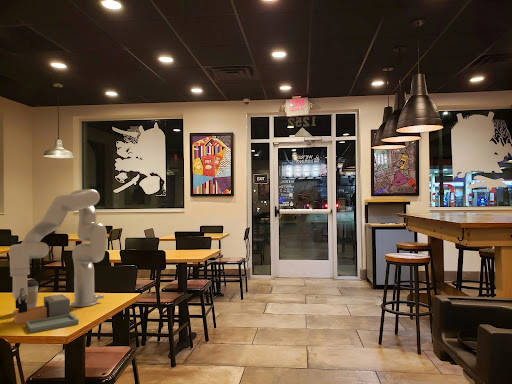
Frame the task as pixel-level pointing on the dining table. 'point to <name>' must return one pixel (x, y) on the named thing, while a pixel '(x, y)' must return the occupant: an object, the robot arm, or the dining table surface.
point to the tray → (51, 323)
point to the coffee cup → (32, 293)
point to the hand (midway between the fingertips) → (21, 310)
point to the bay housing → (57, 305)
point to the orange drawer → (30, 314)
